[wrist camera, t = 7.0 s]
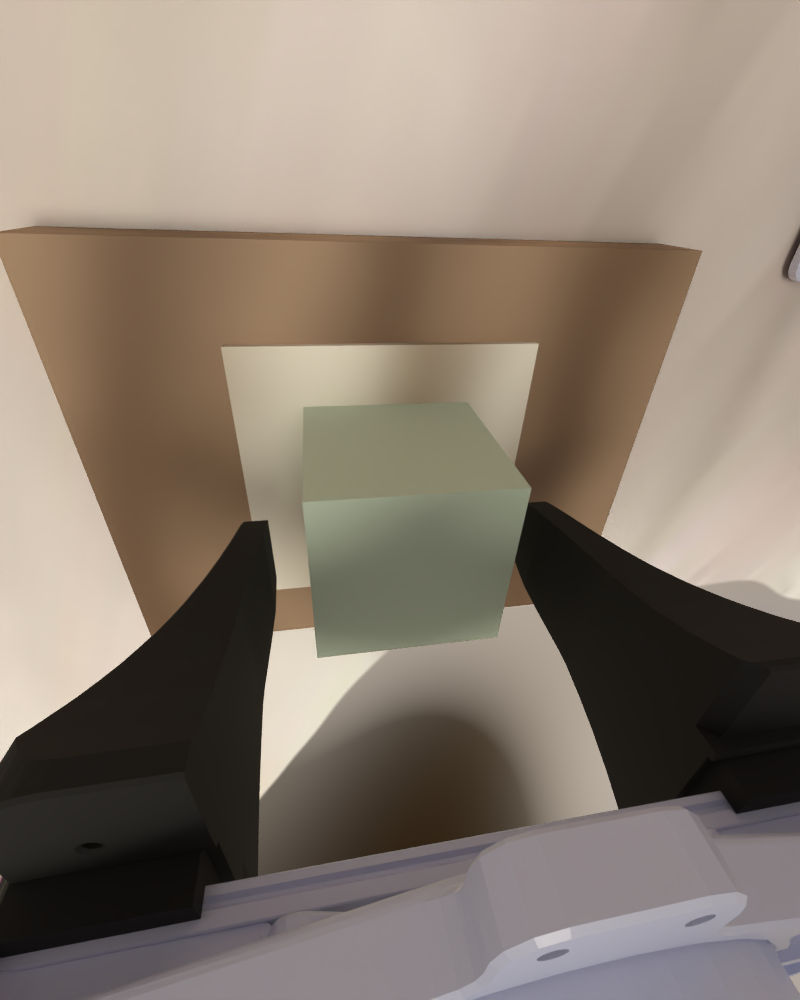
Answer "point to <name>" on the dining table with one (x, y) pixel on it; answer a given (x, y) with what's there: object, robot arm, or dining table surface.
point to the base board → (328, 371)
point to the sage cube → (407, 525)
